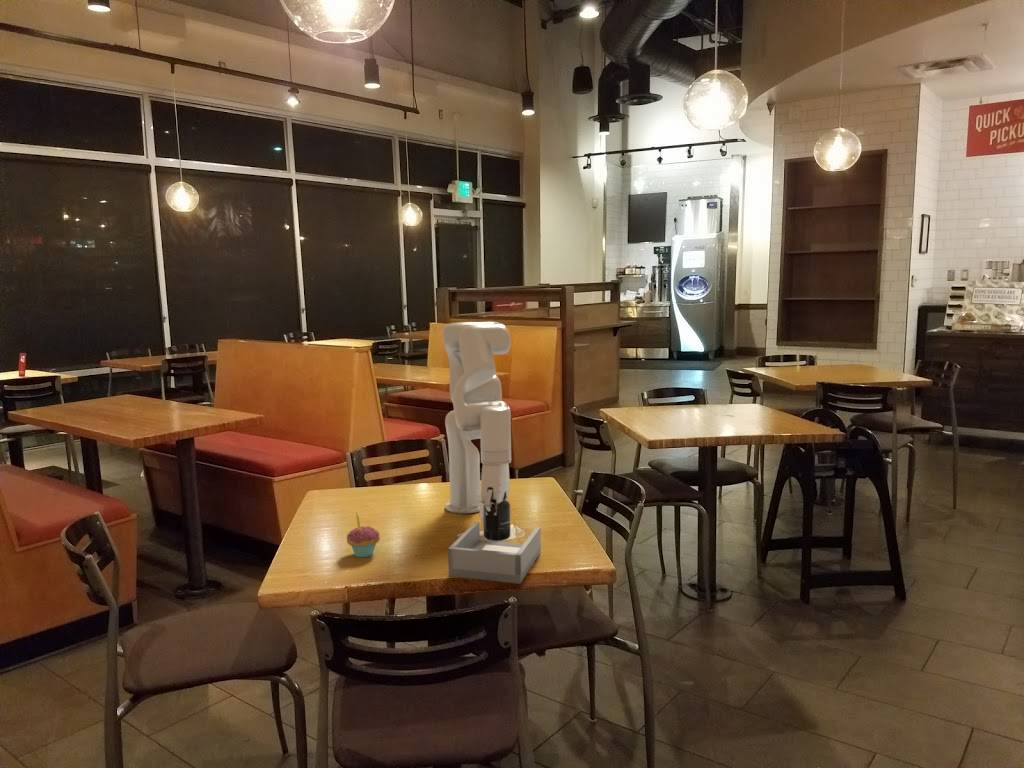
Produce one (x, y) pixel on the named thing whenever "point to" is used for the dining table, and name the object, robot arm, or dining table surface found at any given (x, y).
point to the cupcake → (363, 540)
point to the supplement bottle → (503, 522)
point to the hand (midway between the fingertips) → (497, 524)
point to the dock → (492, 557)
